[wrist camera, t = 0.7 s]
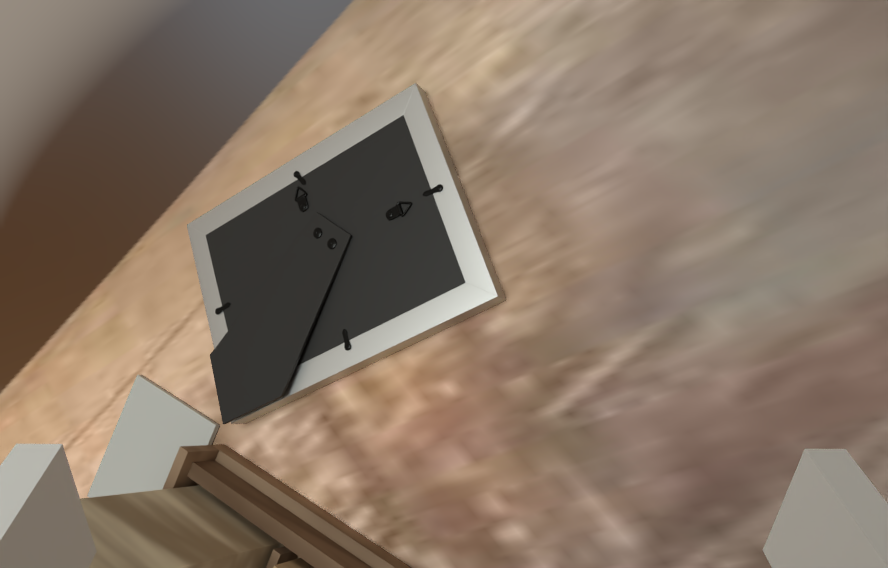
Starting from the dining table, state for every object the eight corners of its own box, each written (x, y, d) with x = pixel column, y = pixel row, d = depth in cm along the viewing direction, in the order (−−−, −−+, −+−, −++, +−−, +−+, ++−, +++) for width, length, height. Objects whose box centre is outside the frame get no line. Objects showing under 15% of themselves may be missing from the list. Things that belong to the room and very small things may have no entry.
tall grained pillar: (211, 483, 46) (-88, 517, 30) (290, 540, 42) (1, 612, 26) (191, 531, 46) (-118, 591, 30) (269, 592, 42) (-33, 696, 26)
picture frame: (251, 423, 48) (510, 302, 41) (223, 424, 45) (493, 294, 38) (206, 231, 53) (429, 96, 46) (178, 222, 50) (410, 77, 44)
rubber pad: (141, 374, 52) (137, 374, 52) (219, 425, 48) (215, 425, 47) (91, 495, 52) (87, 495, 52) (165, 556, 48) (161, 557, 47)
